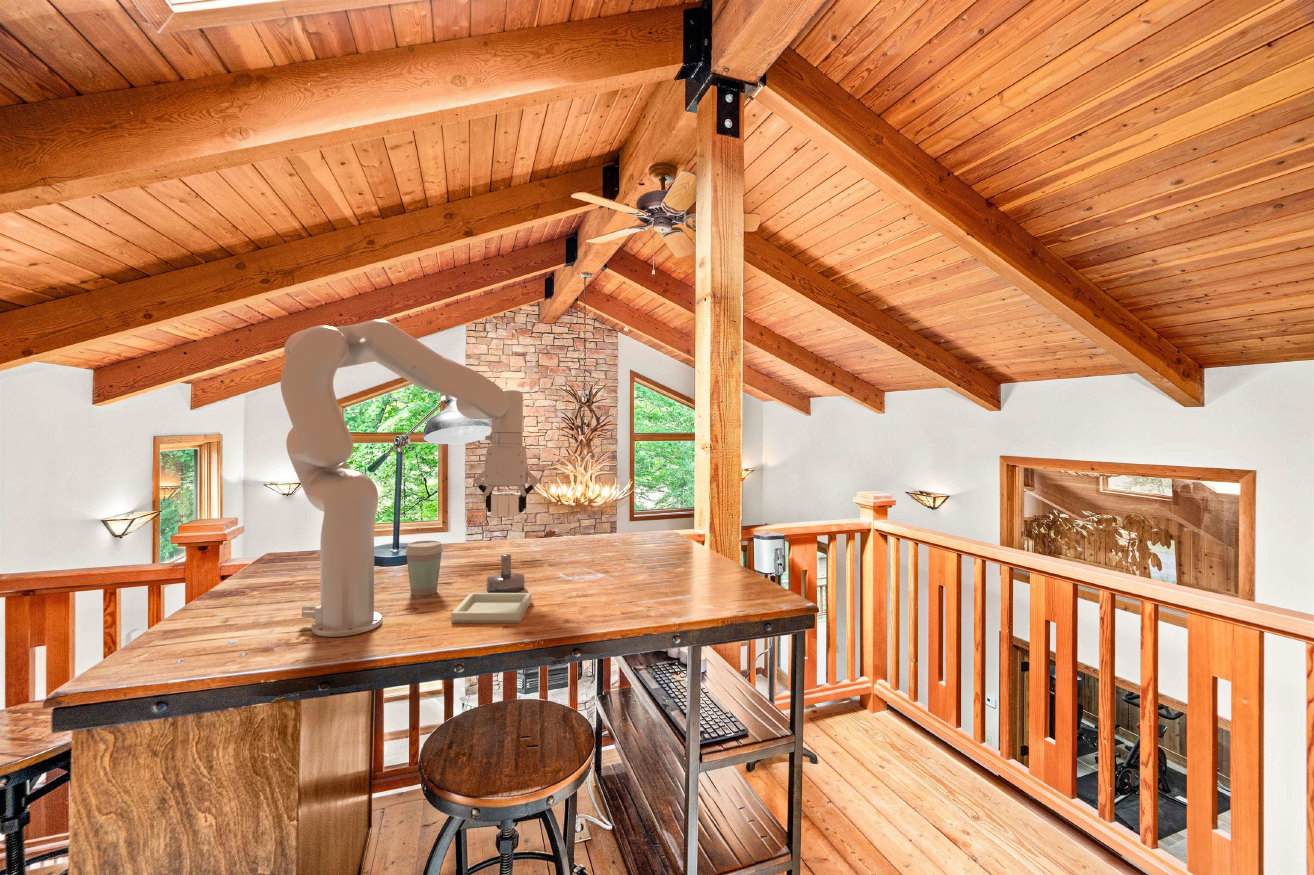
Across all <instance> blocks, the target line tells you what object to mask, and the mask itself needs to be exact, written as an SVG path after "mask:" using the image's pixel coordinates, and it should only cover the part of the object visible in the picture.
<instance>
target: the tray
mask: <svg viewBox="0 0 1314 875" xmlns="http://www.w3.org/2000/svg"><path fill="white" fill-rule="evenodd" d="M531 603H532V592H518V593H489V592H470V593H469V594H467V596H466V597H465V598H464V599H463V600H462V601H461V602H460V603H459V604H458V605H457V606H456V607H455V608H454V610H452V612H451V614H450V622H452V623H451V624H520V623H521V622H522V619H523V617H524V615H525V614H526V612H527V610H528V609H529V606H530V605H531ZM527 608H528V609H527Z"/></svg>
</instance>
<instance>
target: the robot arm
mask: <svg viewBox="0 0 1314 875" xmlns="http://www.w3.org/2000/svg"><path fill="white" fill-rule="evenodd" d="M283 349H284V351H283V352H284V357H285V360H284V364H283V366H282V370H281V374H280V375H281V376H280V390H281V396H282V399H283V402H284V405H285V408H286V411H287V414H288V417H289V419H290V422H291V424H292V427H291V429H290V430H289V432H288V433H287V437H286V445H285V446H286V450H287V451H286V452H287V454H288V457H289V459H290V461H291V465H292V467H293V469H294V471H295V474H296V477H297V478H298V481H299V483H300V485H301V487H302V490H303V492H304V494H305V496H306V498H307V499H308V502H310V504H311V505H312V506H313V507H314V508H316V509H318V511H321V512H323V520H322V524H321V525H322V526H321V530H320V604H319V605H315V604H314V605H313V604H306V605H303V606H302V609H301V618H304V619H309V618H313V619H314V622H312V624H311V632H312V633H313V635H315V636H320V637H324V638H326V637H327V638H328V637H329V638H336V637H337V638H338V637H349V636H355V635H359V634H363V633H366V632H369V631H371V630H375V629H376V628H378V627H379V626H380V625H382V623H383V615H382V614H381V613H380V612H377V611H375V527H376V526H375V523H376V518H377V511H378V503H379V491H378V489H377V486H376V484H375V482H374V481H373V479H371V477H370V476H368V474H367V475H366V474H365V473H363V472H361V471H358V470H354V469H350V468H349V466H348V463H347V461H348V460H349V459H350V458H351V457H352V456H353V455H352V454H353V453H354V440H353V437H352V434H351V432H350V430H349V428H348V425H347V423H346V421H345V418H344V416H343V413H342V411H341V408H340V405H339V403H338V400H337V396H336V393H335V389H334V379H335V375H336V372H337V370H338V369H341V368H346V367H352V366H357V365H363V364H367V363H373V362H376V363H378V364H379V365H380V366H382V367H383V368H386V369H388V370H390V371H391V372H392V373H394V374H395V375H398V376H399V377H401V378H403V379H404V380H405V381H408V382H410V383H411V384H412V385H414V386H416V387H418V388H420V389H423V390H426V391H428V392H433V393H439V394H443V395H445V396H450V397H452V398H455V399H456V400H455V404H456V408H457V411H458V412H459V413H460V414H461V415H462V416H463V417H465V418H468V419H472V420H473V419H474V420H491V426H490V427H491V429H490V430H491V432H490V433H489V434H485V437H484V438H485V439H484V440H485V441H489V442H490V445H487V446H486V451H485V452H486V453H485V457H484V458H485V460H484V468H483V469H484V470H483V471H481V472H480V473H479V474H478V475H477V476H475V477H474V478H473V479H472V481H473V484H475V485H476V487H478V489H479V490H480V492H481V493H483V495H484V497H485V509H487V513H491V494H493V491H494V490H495V487H517V489H518V491H519V493H521V494H520V497H519V512H520V513H521V514H522V513H524V511H525V510H526V509H527V499H528V498H527V496H528V494H530V492H532V491H533V490H534V488H536V487H537V485H538V484H539V483H540V479H539V478H538V477H537V476H536V475H534V474H533V473H532V472H531V471H530V470H529V467H528V466H529V464H528V456H527V454H528V453H527V449H526V445H523V440H524V438H523V435H524V434H523V432H524V430H523V429H524V427H523V426H524V425H523V424H524V396H523V393H522V392H521V391H520V390H515V389H502V388H501V387H500V386H499V385H498V384H496V383H495V382H493V381H492V380H491V379H489V378H488V377H486V376H484V375H483V374H481V373H480V372H478V371H476V370H474V369H472V368H470V367H468V366H465V365H462V364H460V363H458V362H457V361H455V360H452V359H450V358H447V357H445V356H443V355H441V354H439V353H437V352H436V351H434V350H433V349H432V348H430V347H428V346H427V345H425V344H424V343H423V342H421V341H419V340H417V339H416V338H415V337H413V336H412V335H410V334H408V333H407V332H406V331H404V330H403V329H401V328H400V327H398V326H397V325H396V324H393V323H391V322H390V321H387V320H385V319H371V320H368V321H364V322H360V323H356V324H350V325H344V326H338V327H337V326H335V327H334V326H329V325H315V326H312V327H308V328H305V329H303V330H300V331H297V332H294V333H292V335H290V336H289V337H288V338H287V340H286V342H285V344H284V348H283ZM482 480H483V482H484V483H483V482H482ZM529 480H530V481H531V483H530V484H529V485H528V486H527V487H526V485H525V484H527V483H528V481H529Z"/></svg>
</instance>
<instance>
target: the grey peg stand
mask: <svg viewBox="0 0 1314 875" xmlns="http://www.w3.org/2000/svg"><path fill="white" fill-rule="evenodd" d="M522 590H523V591H524V590H525V575H524V574H523V573H519V572H512V555H511V554H510V553H508V554H507V553H505V554H501V555H500V572H499V573H498V572H497V573H493V574H490V575H488V576H487V577H486V593H522Z"/></svg>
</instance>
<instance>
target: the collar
mask: <svg viewBox="0 0 1314 875" xmlns="http://www.w3.org/2000/svg"><path fill="white" fill-rule="evenodd" d="M520 494H521V493H520V492H511V491H509V492H507V491H506V492H494V493H493V492H492V494H491V512H490V516H493V517H503V518H504V517H516V516H517V517H518V516H520V515H522V513H520V512H519V497H520Z"/></svg>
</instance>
